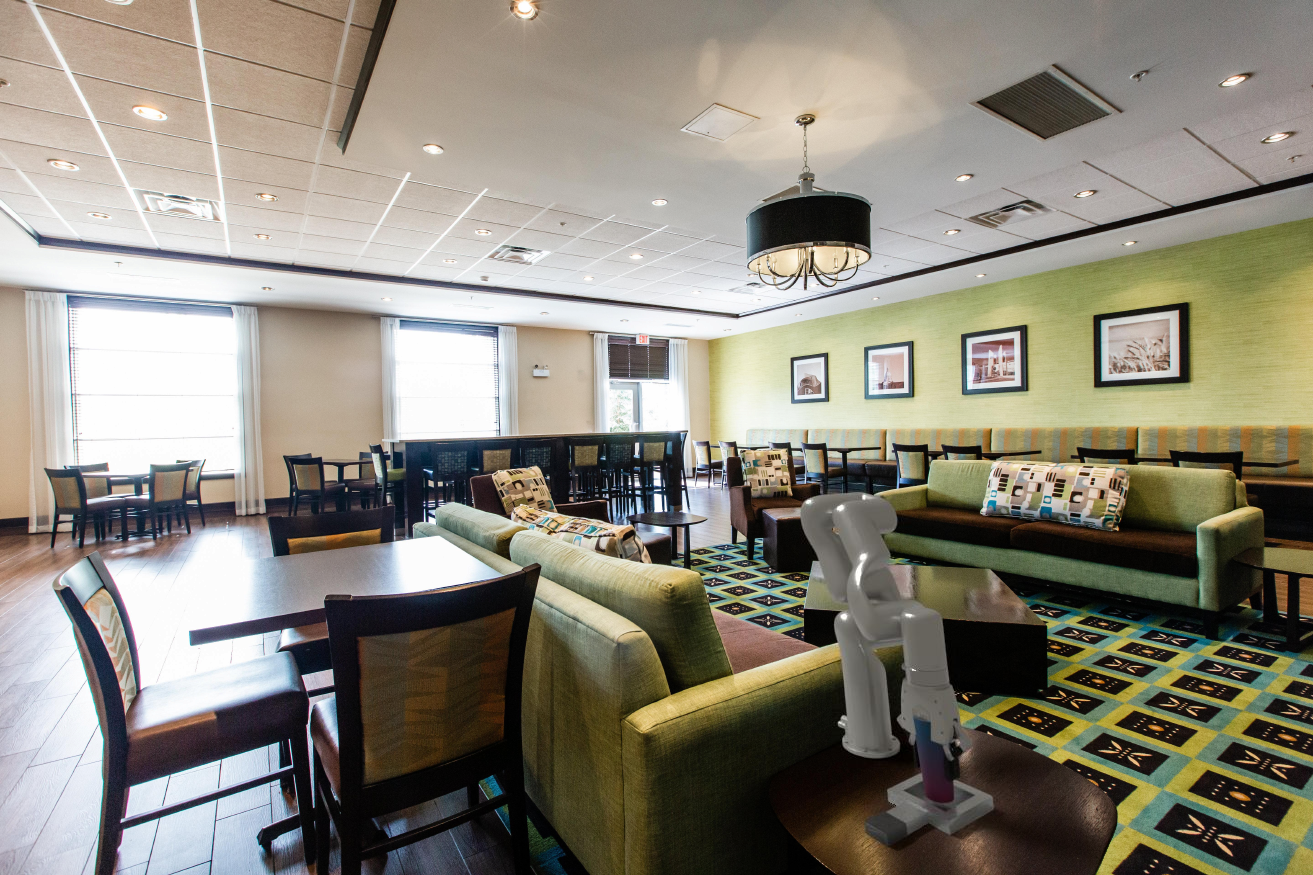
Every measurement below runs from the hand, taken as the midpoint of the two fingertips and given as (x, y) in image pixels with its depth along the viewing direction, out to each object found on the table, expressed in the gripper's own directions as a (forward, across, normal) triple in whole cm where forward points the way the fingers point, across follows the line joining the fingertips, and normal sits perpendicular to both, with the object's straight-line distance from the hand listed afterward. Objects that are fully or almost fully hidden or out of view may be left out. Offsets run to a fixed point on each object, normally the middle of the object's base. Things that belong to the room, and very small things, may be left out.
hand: (937, 770), depth 113 cm
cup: (+5, 0, 0) cm, 5 cm away
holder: (+6, 0, -5) cm, 8 cm away
